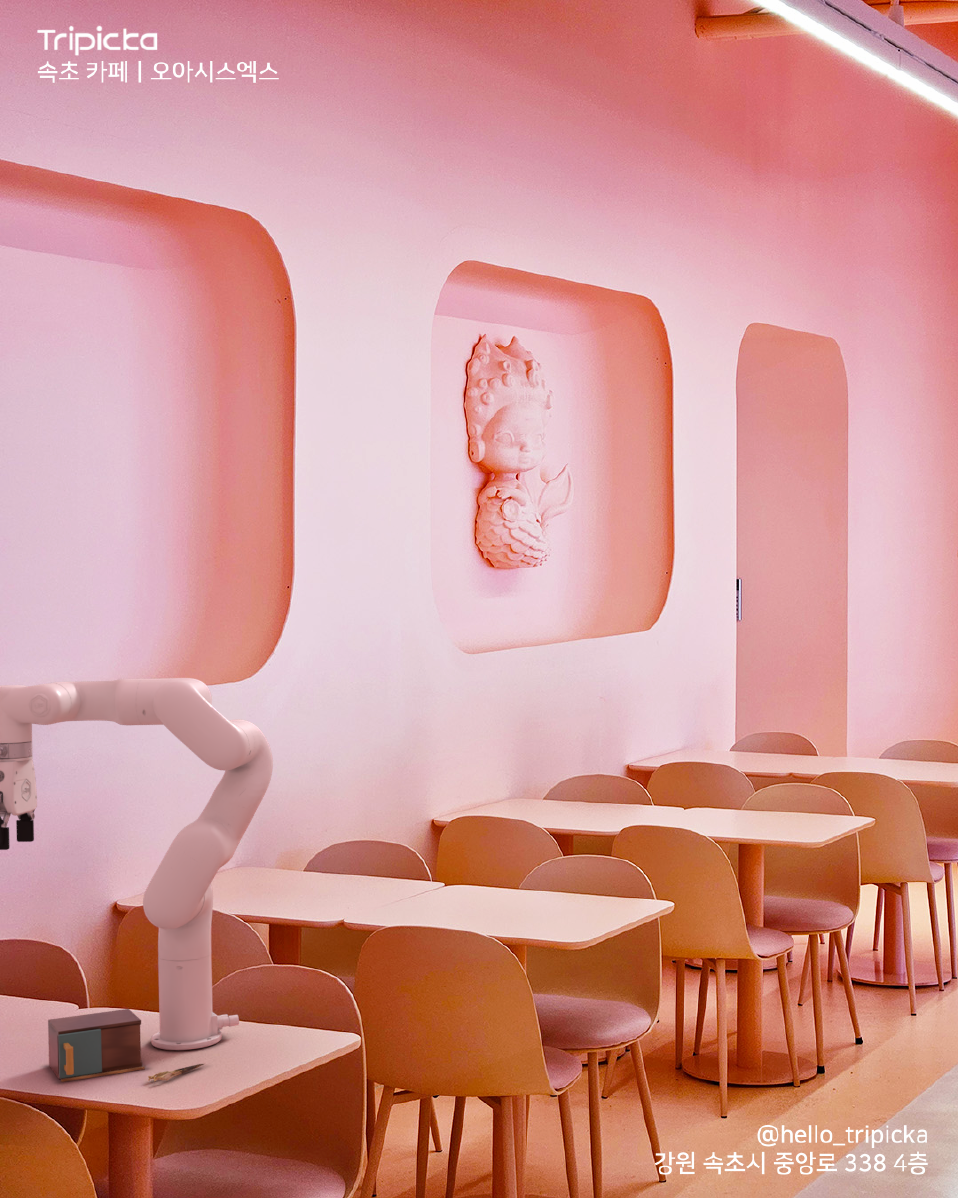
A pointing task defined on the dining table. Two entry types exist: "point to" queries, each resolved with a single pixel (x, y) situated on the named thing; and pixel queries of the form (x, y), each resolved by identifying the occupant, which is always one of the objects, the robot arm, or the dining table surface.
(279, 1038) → the dining table surface
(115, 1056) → the cupboard
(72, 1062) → the door
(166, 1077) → the tan slender tapered piece
